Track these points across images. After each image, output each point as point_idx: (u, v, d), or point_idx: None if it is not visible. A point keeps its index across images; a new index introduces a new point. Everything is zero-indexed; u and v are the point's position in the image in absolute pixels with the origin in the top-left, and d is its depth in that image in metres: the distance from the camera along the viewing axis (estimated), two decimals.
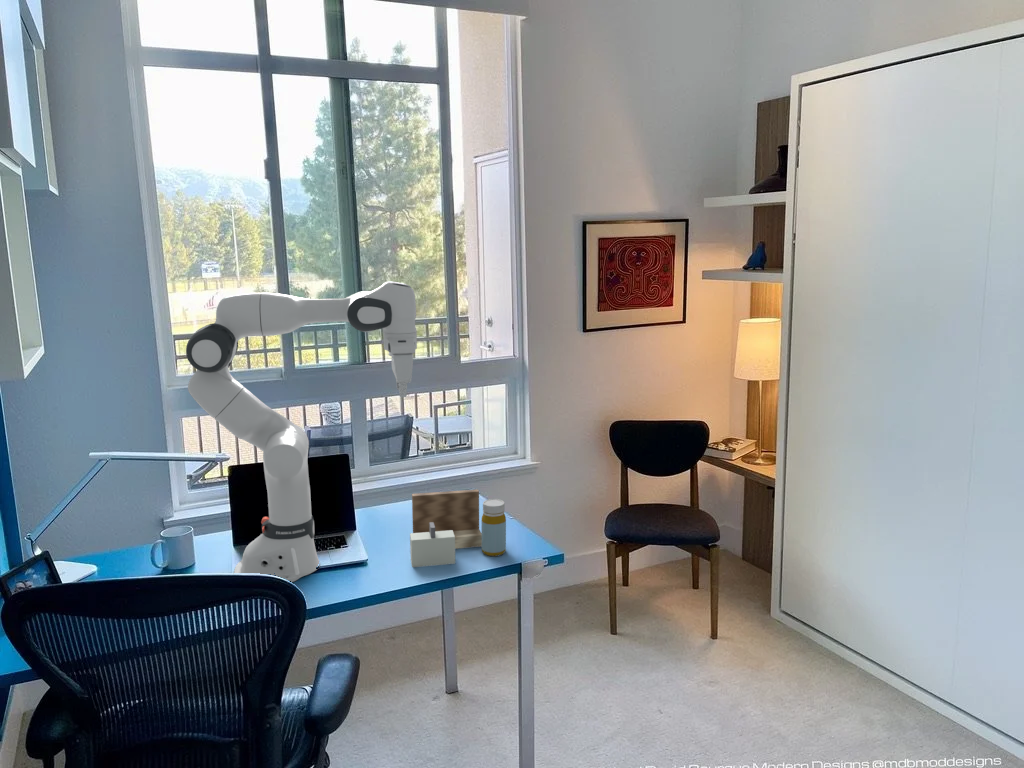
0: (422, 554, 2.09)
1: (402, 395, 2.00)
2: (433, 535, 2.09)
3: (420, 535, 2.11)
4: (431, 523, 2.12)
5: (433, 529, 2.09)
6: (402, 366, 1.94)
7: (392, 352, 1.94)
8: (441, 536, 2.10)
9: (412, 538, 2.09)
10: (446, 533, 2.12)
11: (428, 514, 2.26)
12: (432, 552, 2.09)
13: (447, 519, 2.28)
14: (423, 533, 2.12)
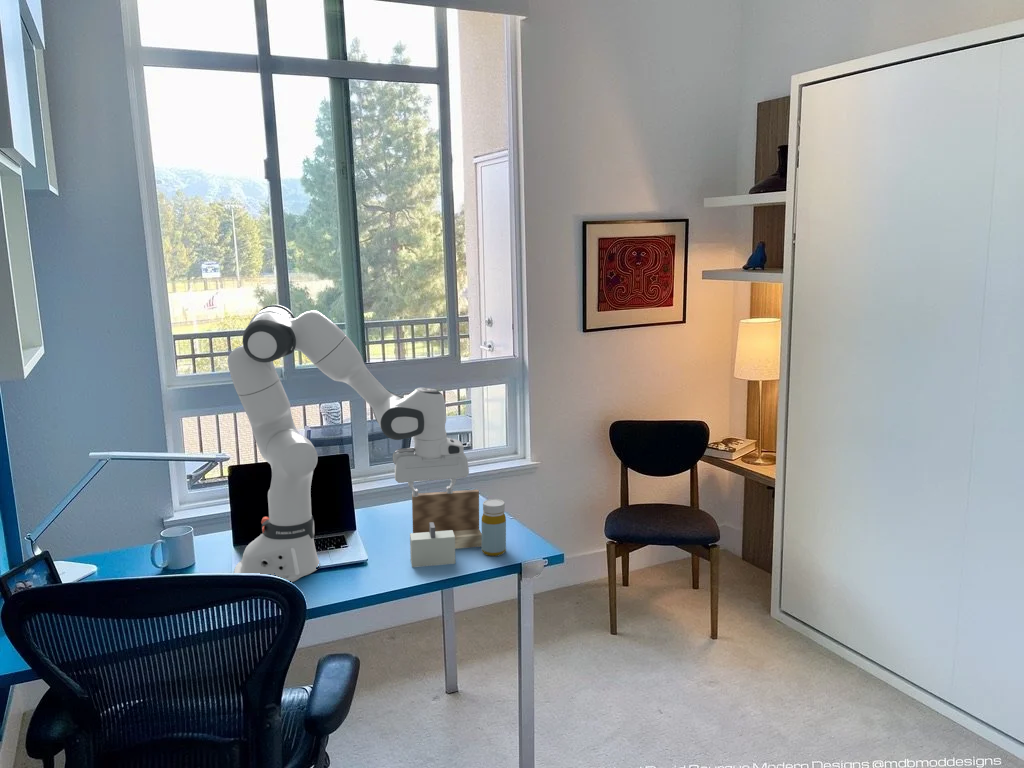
0: (422, 554, 2.09)
1: None
2: (433, 535, 2.09)
3: (420, 535, 2.11)
4: (431, 523, 2.12)
5: (433, 529, 2.09)
6: None
7: None
8: (441, 536, 2.10)
9: (412, 538, 2.09)
10: (446, 533, 2.12)
11: (428, 514, 2.26)
12: (432, 552, 2.09)
13: (447, 519, 2.28)
14: (423, 533, 2.12)
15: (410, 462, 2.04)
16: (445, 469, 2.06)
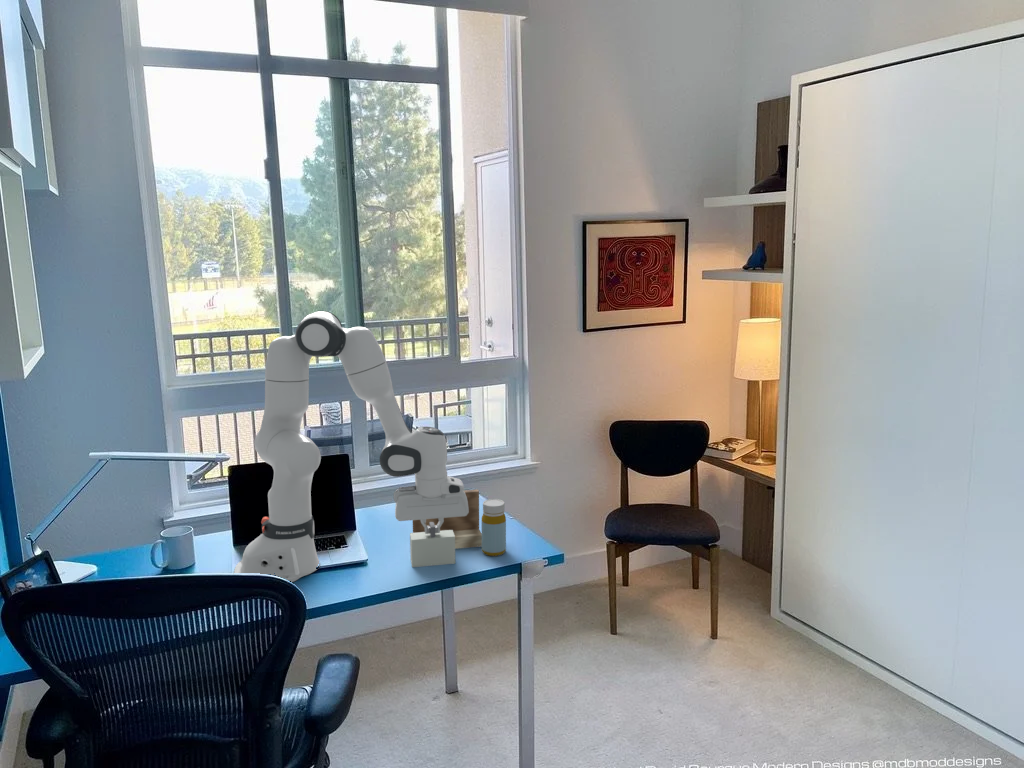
0: (422, 553, 2.09)
1: (439, 530, 2.11)
2: (433, 535, 2.09)
3: (420, 535, 2.11)
4: (431, 523, 2.11)
5: (433, 529, 2.09)
6: None
7: (463, 490, 2.08)
8: (441, 536, 2.10)
9: (412, 538, 2.09)
10: (446, 533, 2.12)
11: None
12: (432, 551, 2.09)
13: (447, 519, 2.28)
14: (423, 533, 2.12)
15: (411, 501, 2.06)
16: (445, 507, 2.08)
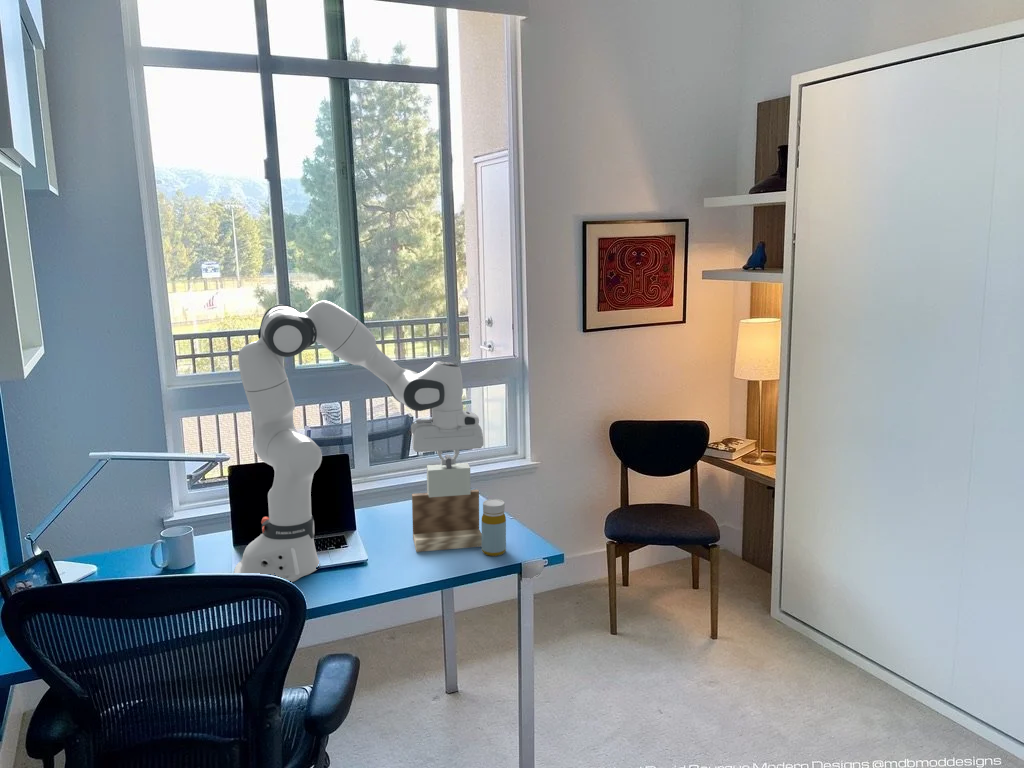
0: (438, 484, 2.16)
1: None
2: (449, 466, 2.16)
3: (436, 467, 2.18)
4: (447, 455, 2.18)
5: (449, 460, 2.16)
6: None
7: (478, 422, 2.15)
8: (457, 467, 2.17)
9: (429, 469, 2.16)
10: (461, 465, 2.19)
11: (428, 514, 2.26)
12: (448, 482, 2.16)
13: (447, 519, 2.28)
14: (439, 465, 2.19)
15: (428, 432, 2.13)
16: (461, 439, 2.15)
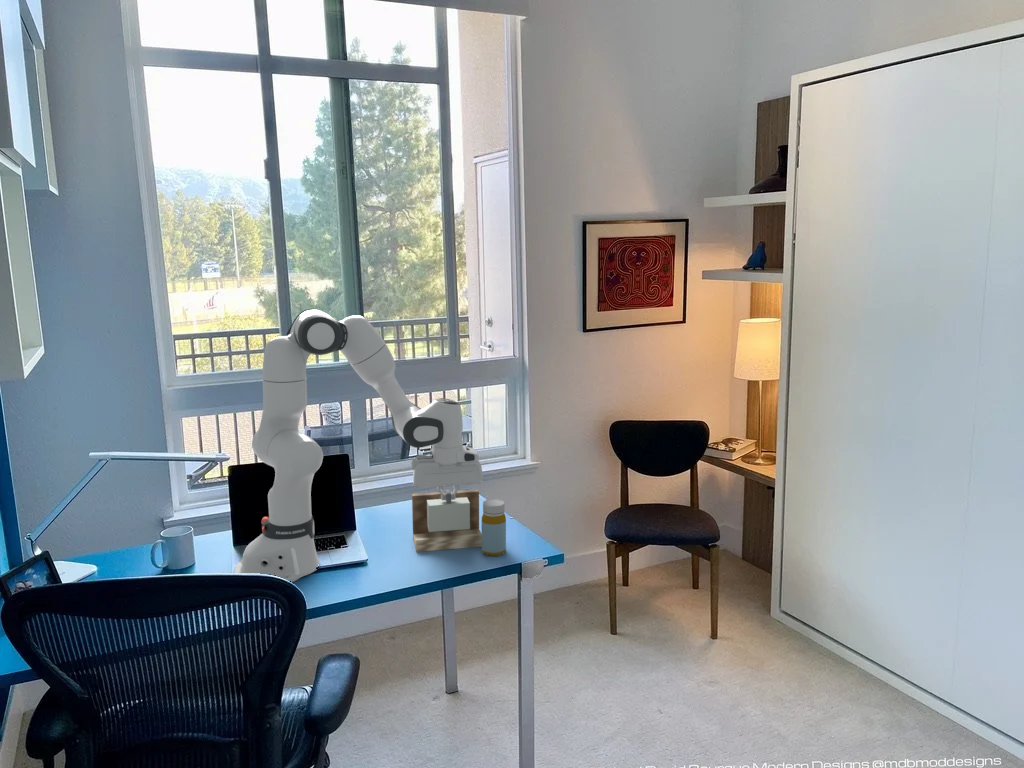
0: (438, 519, 2.19)
1: None
2: (449, 501, 2.20)
3: (436, 501, 2.21)
4: (447, 490, 2.22)
5: (449, 495, 2.19)
6: None
7: None
8: (456, 502, 2.20)
9: (429, 504, 2.19)
10: (461, 500, 2.23)
11: None
12: (447, 517, 2.20)
13: None
14: (439, 500, 2.23)
15: (428, 469, 2.17)
16: (460, 475, 2.19)
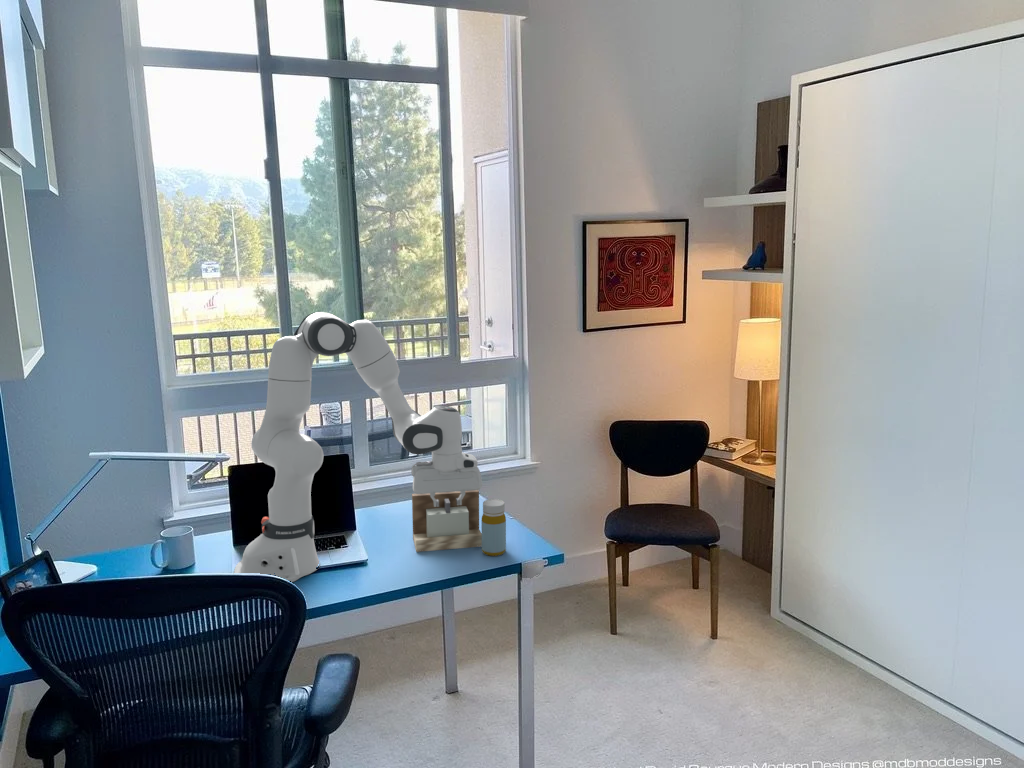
0: (437, 528, 2.22)
1: None
2: (448, 510, 2.22)
3: (435, 511, 2.23)
4: (446, 499, 2.24)
5: (448, 505, 2.21)
6: None
7: (477, 465, 2.20)
8: (456, 512, 2.23)
9: (428, 513, 2.21)
10: (460, 509, 2.25)
11: None
12: (447, 526, 2.22)
13: None
14: (438, 509, 2.25)
15: (428, 475, 2.19)
16: (460, 481, 2.21)
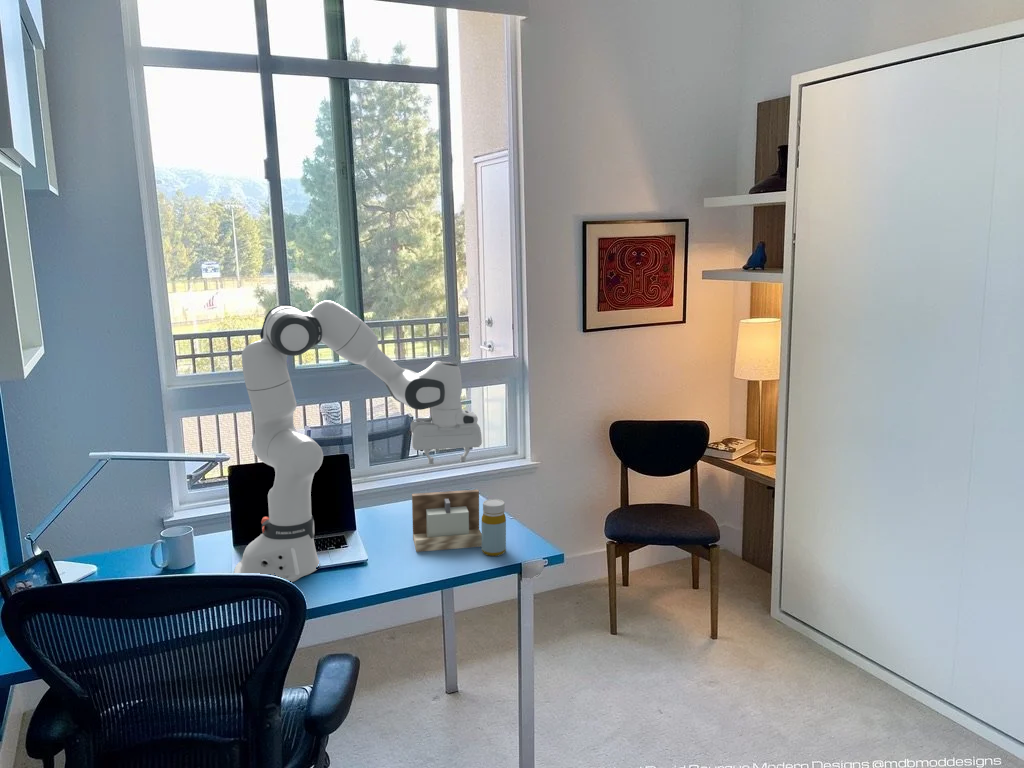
0: (437, 528, 2.22)
1: None
2: (448, 510, 2.22)
3: (435, 511, 2.23)
4: (446, 499, 2.24)
5: (448, 505, 2.21)
6: None
7: None
8: (456, 512, 2.23)
9: (428, 513, 2.21)
10: (460, 509, 2.25)
11: None
12: (447, 526, 2.22)
13: None
14: (438, 509, 2.25)
15: (427, 431, 2.16)
16: (459, 438, 2.19)
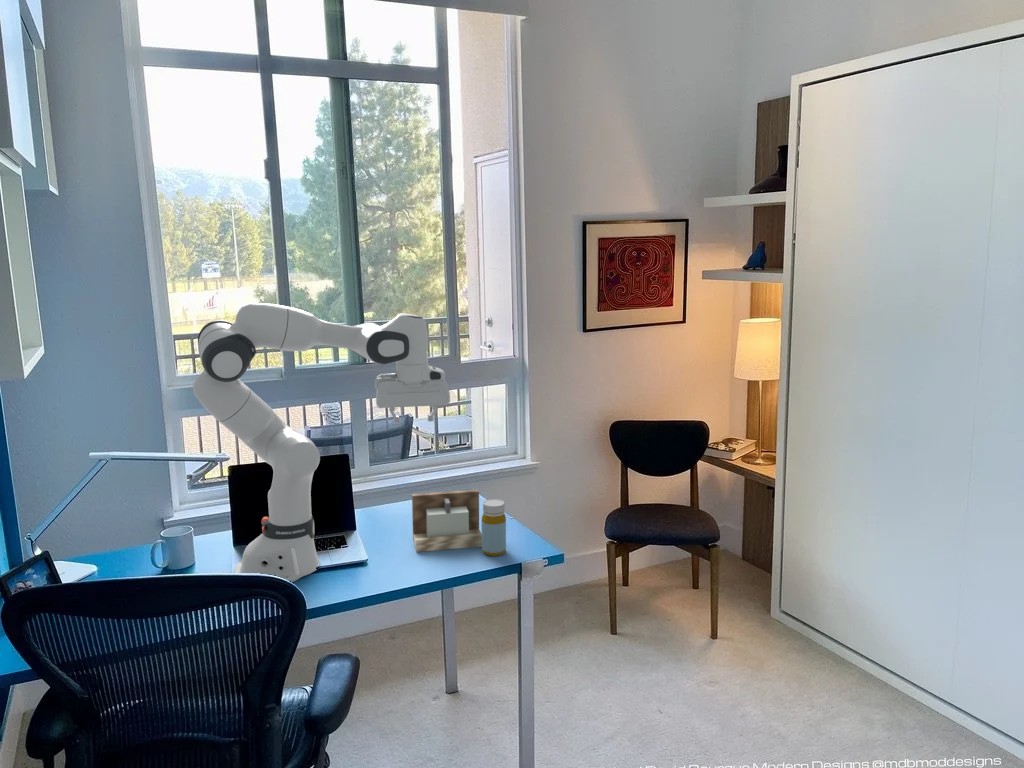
0: (437, 528, 2.22)
1: None
2: (448, 510, 2.22)
3: (435, 511, 2.23)
4: (446, 499, 2.24)
5: (448, 505, 2.21)
6: None
7: (444, 378, 2.07)
8: (456, 512, 2.23)
9: (428, 513, 2.21)
10: (460, 509, 2.25)
11: None
12: (447, 526, 2.22)
13: None
14: (438, 509, 2.25)
15: (392, 388, 2.05)
16: (426, 395, 2.07)
